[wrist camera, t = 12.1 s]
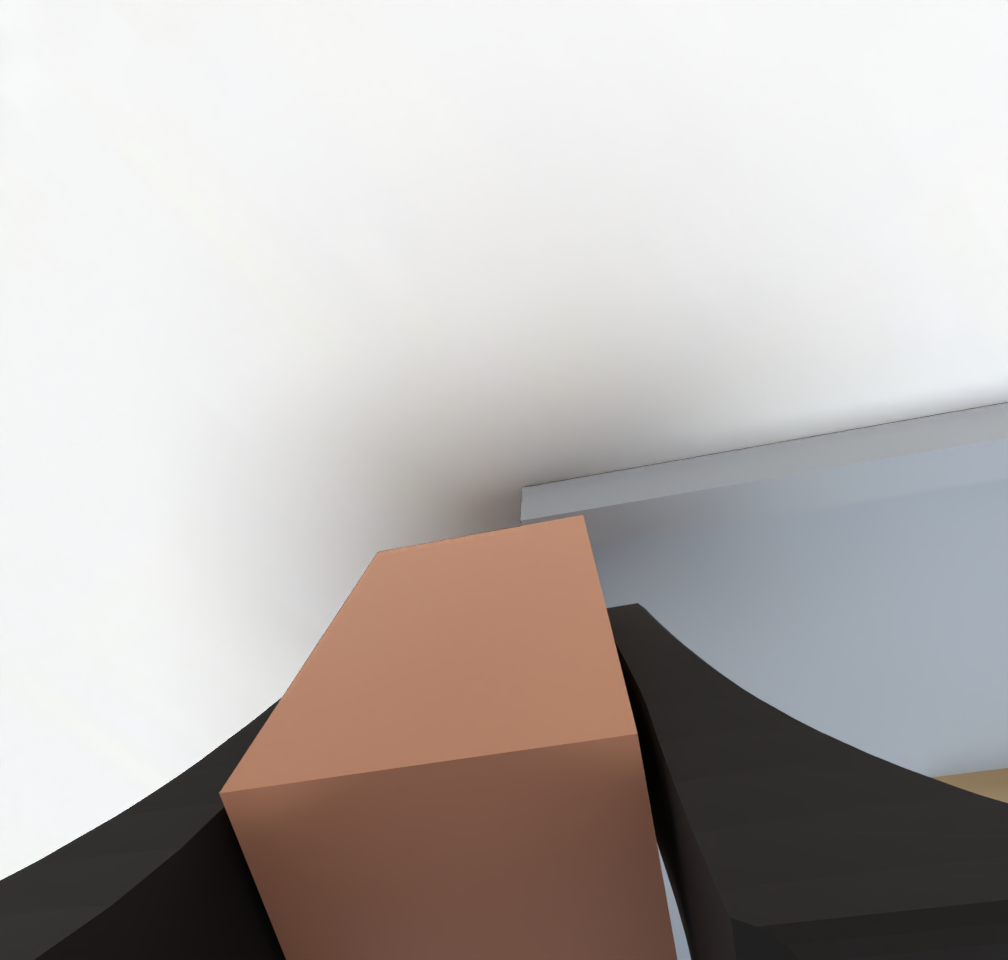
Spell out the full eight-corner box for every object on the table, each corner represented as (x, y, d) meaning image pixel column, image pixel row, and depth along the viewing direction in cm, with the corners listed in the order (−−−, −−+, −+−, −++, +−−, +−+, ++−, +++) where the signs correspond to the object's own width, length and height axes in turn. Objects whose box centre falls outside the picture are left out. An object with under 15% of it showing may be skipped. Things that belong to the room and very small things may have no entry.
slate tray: (1174, 917, 21) (1275, 1012, 18) (617, 970, 23) (629, 1063, 20) (1246, 360, 16) (1401, 370, 13) (522, 487, 18) (520, 521, 15)
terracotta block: (616, 697, 12) (693, 1049, 6) (427, 725, 12) (335, 1080, 7) (583, 514, 11) (637, 733, 5) (377, 551, 11) (219, 792, 6)
